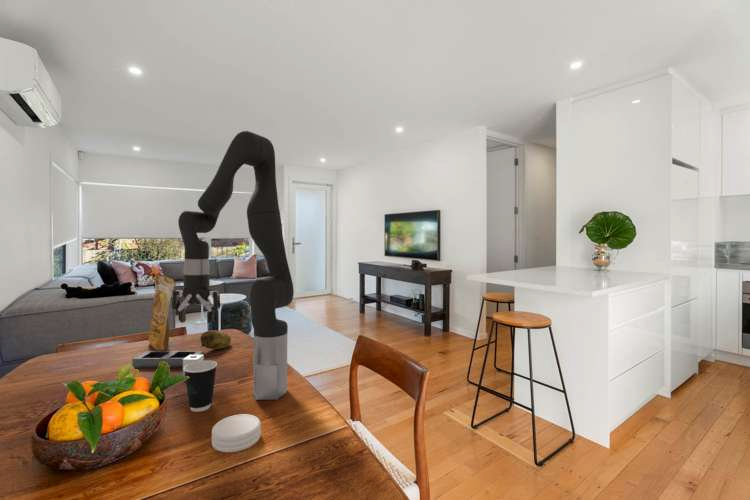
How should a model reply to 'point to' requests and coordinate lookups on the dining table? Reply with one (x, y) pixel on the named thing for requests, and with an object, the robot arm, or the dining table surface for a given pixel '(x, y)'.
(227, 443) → the coaster
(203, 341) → the potato
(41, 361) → the dining table surface
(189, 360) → the nut block
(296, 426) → the dining table surface
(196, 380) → the dixie cup
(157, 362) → the grey compartment tray
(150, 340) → the pancake mix bag
